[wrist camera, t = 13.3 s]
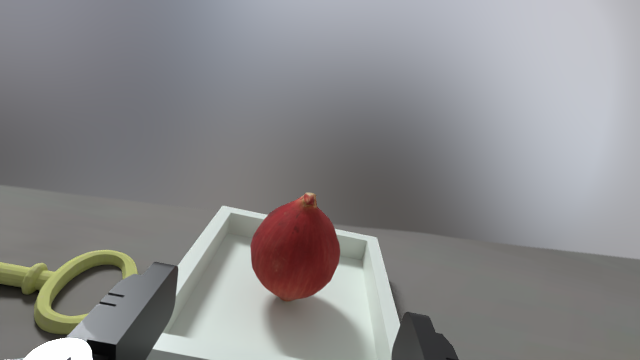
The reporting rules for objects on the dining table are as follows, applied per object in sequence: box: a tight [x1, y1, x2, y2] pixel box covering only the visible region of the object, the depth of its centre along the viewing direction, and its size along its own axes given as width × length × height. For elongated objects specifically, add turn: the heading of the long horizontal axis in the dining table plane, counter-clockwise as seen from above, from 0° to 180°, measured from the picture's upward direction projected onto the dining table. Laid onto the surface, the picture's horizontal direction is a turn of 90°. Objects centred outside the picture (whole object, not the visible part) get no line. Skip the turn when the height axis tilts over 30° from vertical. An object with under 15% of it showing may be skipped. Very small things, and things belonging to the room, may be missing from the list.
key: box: [0, 250, 138, 335], centre depth 21 cm, size 7×12×2 cm, turn 115°
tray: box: [146, 206, 400, 360], centre depth 24 cm, size 14×16×3 cm
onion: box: [250, 193, 340, 302], centre depth 23 cm, size 6×6×8 cm
